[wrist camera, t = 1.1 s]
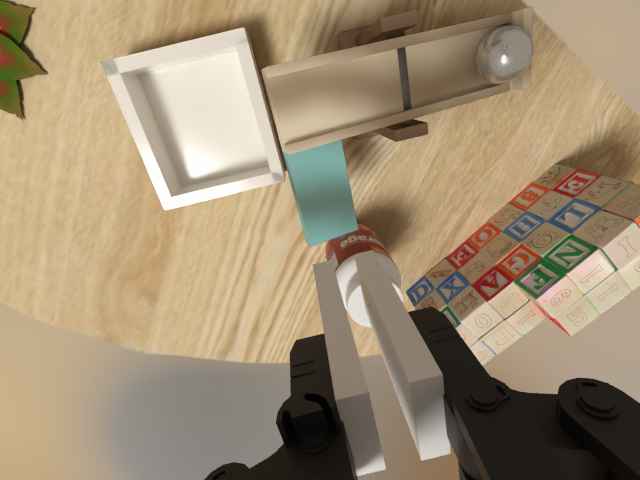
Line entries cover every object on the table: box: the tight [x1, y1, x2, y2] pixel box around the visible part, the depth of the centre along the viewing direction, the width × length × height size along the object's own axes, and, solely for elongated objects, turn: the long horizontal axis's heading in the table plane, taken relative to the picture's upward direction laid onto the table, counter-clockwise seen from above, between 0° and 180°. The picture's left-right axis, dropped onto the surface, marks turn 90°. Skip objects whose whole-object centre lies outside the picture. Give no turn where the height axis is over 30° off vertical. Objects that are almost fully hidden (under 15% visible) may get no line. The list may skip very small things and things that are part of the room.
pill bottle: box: [326, 224, 403, 327], centre depth 33 cm, size 6×6×11 cm
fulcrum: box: [338, 9, 428, 142], centre depth 28 cm, size 9×5×9 cm, turn 12°
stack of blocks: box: [406, 164, 640, 366], centre depth 35 cm, size 21×6×12 cm, turn 135°
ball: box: [475, 26, 534, 84], centre depth 24 cm, size 4×4×4 cm
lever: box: [261, 7, 533, 247], centre depth 25 cm, size 12×19×3 cm, turn 102°
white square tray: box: [101, 27, 285, 210], centre depth 30 cm, size 12×11×4 cm
